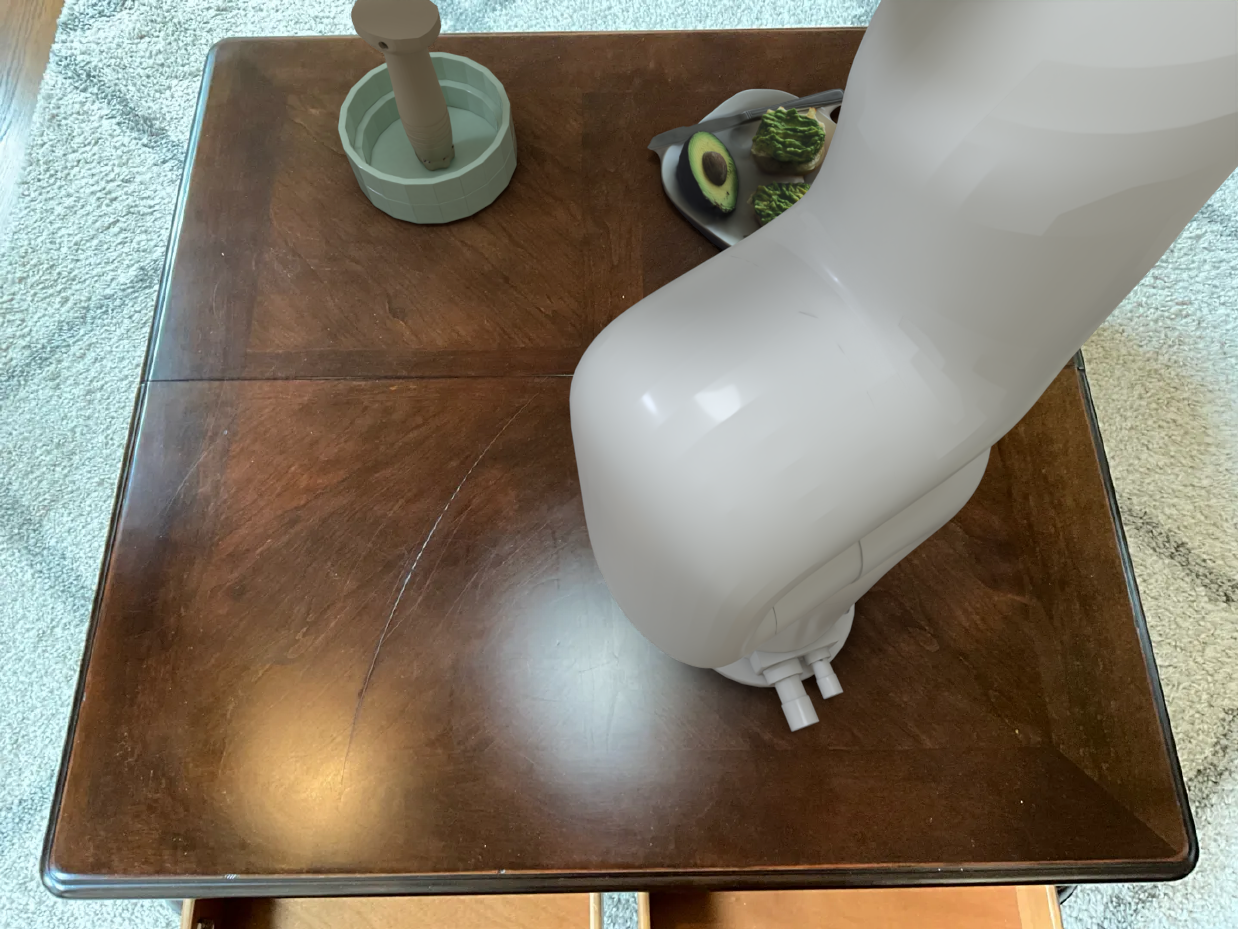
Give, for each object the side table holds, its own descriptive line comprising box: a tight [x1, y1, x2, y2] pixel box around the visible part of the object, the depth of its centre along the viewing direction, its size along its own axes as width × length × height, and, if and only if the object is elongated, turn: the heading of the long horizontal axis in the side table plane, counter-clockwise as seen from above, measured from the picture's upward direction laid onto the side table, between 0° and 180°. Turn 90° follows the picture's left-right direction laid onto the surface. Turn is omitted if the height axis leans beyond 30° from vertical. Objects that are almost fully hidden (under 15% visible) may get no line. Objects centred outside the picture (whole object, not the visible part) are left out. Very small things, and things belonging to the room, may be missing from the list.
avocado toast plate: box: [646, 88, 845, 251], centre depth 75 cm, size 19×18×5 cm
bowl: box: [337, 51, 518, 225], centre depth 76 cm, size 14×14×6 cm
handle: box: [350, 0, 455, 171], centre depth 71 cm, size 5×6×15 cm
